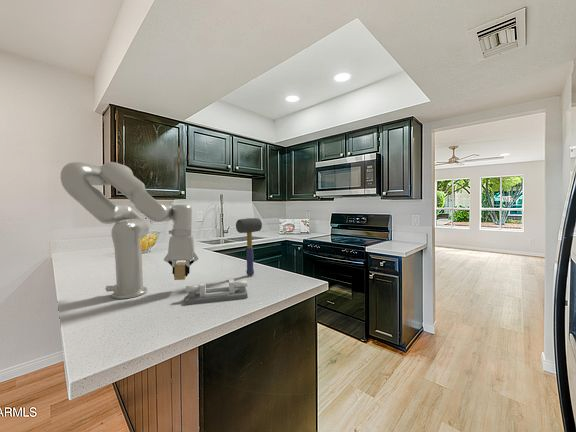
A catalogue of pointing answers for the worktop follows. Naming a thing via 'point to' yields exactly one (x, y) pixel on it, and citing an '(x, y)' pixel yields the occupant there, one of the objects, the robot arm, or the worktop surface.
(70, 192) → the robot arm
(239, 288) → the shaft stand
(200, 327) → the worktop surface
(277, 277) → the worktop surface
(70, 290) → the worktop surface
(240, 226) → the rubber mallet
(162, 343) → the worktop surface
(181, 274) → the coupler
